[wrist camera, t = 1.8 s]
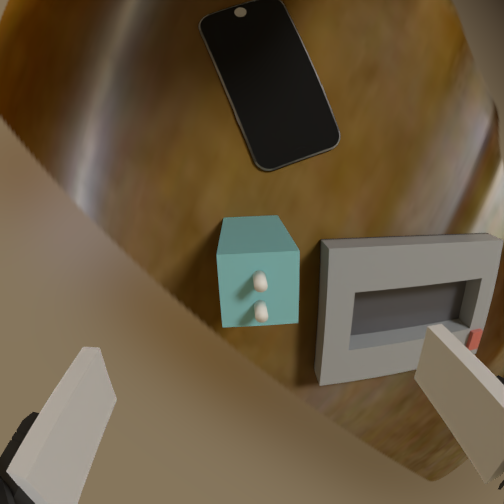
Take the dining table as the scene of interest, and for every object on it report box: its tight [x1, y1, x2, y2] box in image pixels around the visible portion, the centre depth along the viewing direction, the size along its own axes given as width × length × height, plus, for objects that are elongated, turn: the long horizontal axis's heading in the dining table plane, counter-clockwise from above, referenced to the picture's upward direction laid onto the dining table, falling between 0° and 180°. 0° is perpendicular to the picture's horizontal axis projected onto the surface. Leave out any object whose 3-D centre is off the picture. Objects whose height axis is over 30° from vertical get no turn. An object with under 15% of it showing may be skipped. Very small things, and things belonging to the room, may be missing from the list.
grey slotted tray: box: [314, 233, 503, 386], centre depth 29 cm, size 14×20×3 cm
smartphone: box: [199, 0, 340, 171], centre depth 24 cm, size 8×1×15 cm
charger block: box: [216, 215, 300, 327], centre depth 22 cm, size 4×4×11 cm
